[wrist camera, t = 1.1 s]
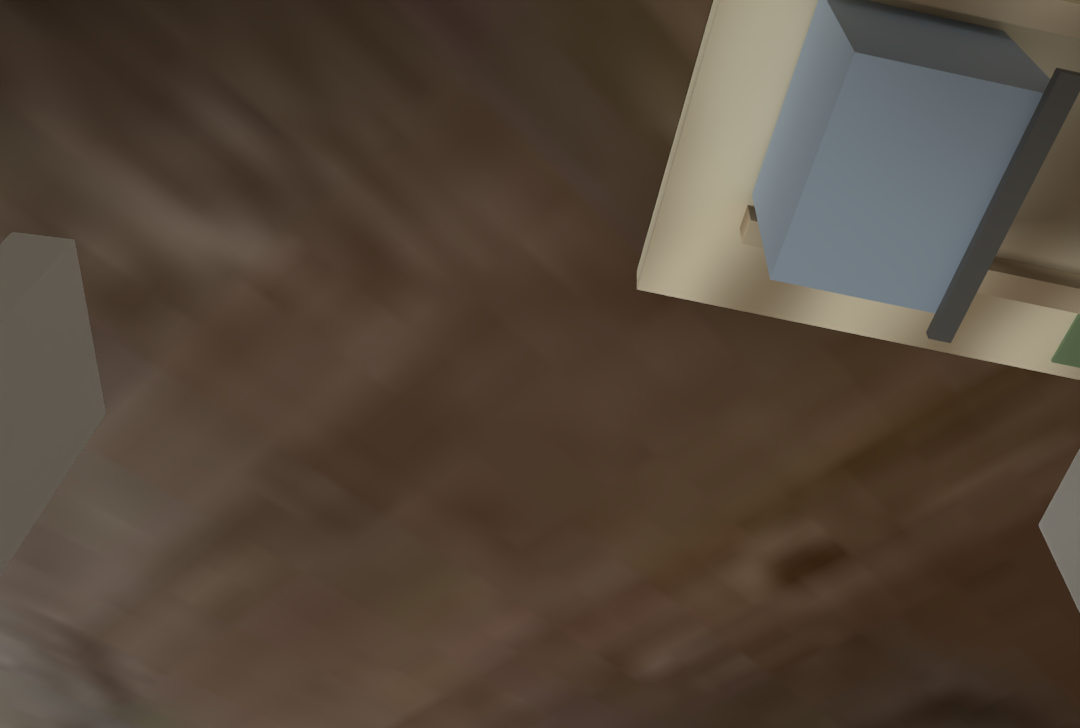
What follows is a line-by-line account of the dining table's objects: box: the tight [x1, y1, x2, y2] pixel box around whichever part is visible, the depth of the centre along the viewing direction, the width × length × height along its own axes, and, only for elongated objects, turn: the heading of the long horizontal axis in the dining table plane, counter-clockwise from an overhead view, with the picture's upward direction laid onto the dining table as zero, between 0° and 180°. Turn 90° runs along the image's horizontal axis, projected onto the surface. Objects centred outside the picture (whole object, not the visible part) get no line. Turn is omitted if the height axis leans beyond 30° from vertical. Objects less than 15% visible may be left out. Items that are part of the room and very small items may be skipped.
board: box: [637, 0, 1080, 380], centre depth 29 cm, size 22×14×2 cm, turn 79°
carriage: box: [752, 0, 1080, 343], centre depth 27 cm, size 5×7×5 cm
